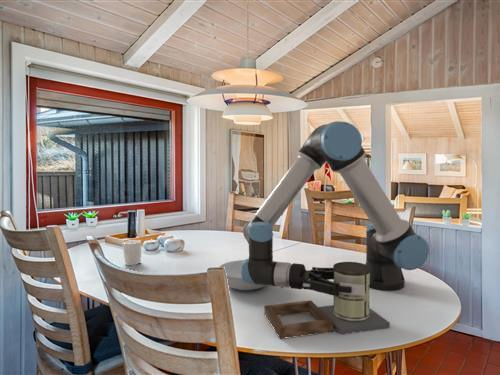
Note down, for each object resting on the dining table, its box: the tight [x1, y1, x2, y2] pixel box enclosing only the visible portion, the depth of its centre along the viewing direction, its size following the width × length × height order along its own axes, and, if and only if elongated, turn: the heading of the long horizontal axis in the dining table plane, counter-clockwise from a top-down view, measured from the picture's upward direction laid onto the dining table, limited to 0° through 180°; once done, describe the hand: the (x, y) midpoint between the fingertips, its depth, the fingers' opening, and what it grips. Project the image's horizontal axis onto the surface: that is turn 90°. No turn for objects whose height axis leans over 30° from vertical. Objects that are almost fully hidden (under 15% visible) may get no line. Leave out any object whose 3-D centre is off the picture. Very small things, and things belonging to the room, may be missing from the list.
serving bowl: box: [218, 259, 266, 291], centre depth 136 cm, size 21×21×7 cm
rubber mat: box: [318, 304, 390, 335], centre depth 107 cm, size 15×15×2 cm
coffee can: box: [332, 261, 371, 321], centre depth 107 cm, size 10×10×14 cm
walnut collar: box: [263, 300, 334, 339], centre depth 106 cm, size 15×15×3 cm
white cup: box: [122, 239, 142, 266], centre depth 167 cm, size 8×8×10 cm
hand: (366, 283), depth 105 cm, fingers open, 11 cm apart
